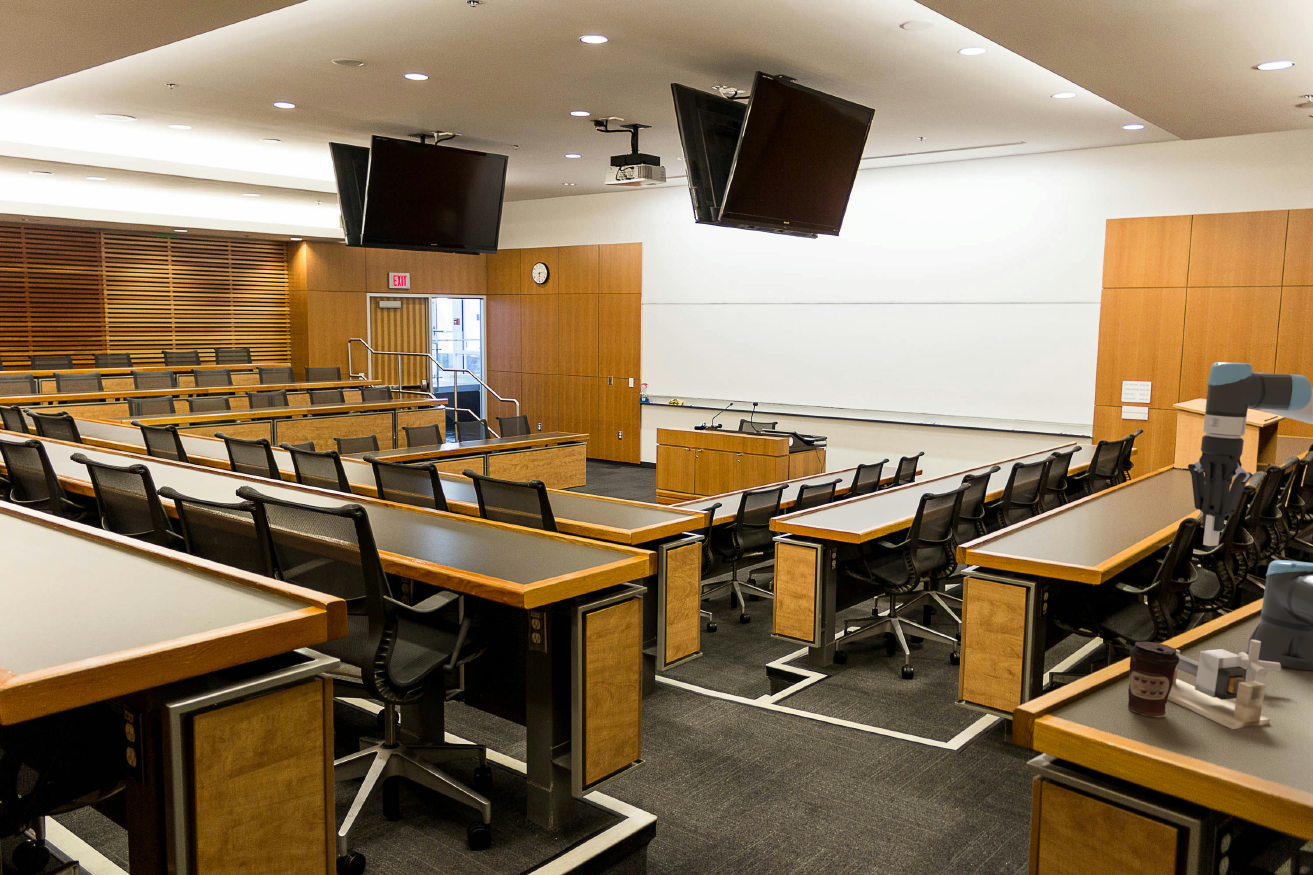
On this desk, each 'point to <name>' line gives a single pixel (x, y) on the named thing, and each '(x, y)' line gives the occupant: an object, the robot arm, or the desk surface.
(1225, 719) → the pipe rig
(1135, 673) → the coffee cup
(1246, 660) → the pipe connector
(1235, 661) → the sleeve
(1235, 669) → the dark grey block
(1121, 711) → the desk surface
